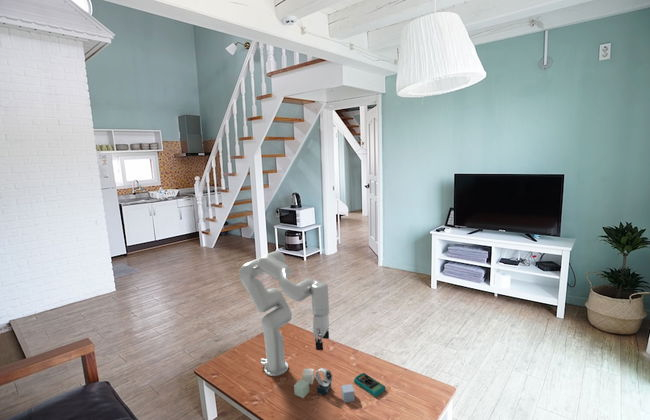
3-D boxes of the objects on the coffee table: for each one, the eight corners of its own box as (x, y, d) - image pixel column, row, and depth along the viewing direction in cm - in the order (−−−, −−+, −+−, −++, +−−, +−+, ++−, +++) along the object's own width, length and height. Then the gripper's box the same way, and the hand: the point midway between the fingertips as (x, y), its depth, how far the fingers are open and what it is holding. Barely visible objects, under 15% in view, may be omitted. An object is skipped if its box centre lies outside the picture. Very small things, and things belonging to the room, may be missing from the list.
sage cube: (294, 394, 161) (293, 385, 160) (301, 388, 165) (300, 379, 164) (303, 398, 158) (302, 388, 158) (309, 391, 163) (308, 382, 162)
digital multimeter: (363, 376, 172) (363, 370, 172) (386, 391, 161) (385, 385, 160) (353, 382, 168) (352, 377, 167) (375, 398, 156) (375, 393, 156)
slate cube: (343, 402, 154) (343, 392, 153) (341, 395, 159) (341, 385, 158) (354, 401, 155) (354, 391, 154) (352, 393, 160) (352, 383, 159)
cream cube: (302, 384, 168) (302, 374, 167) (304, 377, 173) (304, 368, 172) (312, 384, 167) (312, 375, 167) (314, 377, 172) (313, 368, 172)
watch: (329, 397, 158) (328, 375, 156) (314, 391, 162) (313, 371, 160) (334, 389, 163) (333, 368, 161) (320, 384, 167) (319, 364, 165)
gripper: (318, 300, 165) (320, 333, 168) (306, 318, 148) (308, 353, 151) (333, 302, 163) (335, 335, 166) (323, 319, 146) (325, 355, 149)
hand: (322, 343), depth 159 cm, fingers open, 9 cm apart
